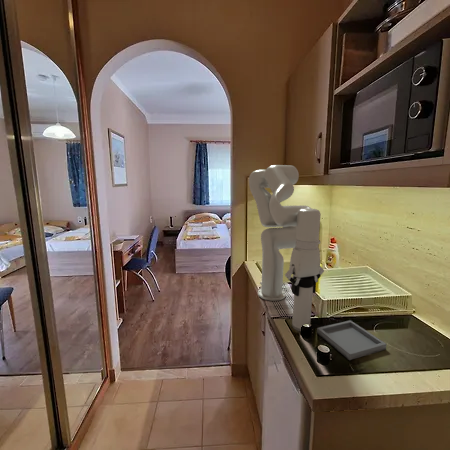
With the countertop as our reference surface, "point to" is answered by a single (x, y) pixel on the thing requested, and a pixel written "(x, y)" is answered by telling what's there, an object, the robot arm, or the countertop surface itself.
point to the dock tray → (351, 339)
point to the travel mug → (303, 303)
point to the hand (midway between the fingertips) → (303, 292)
